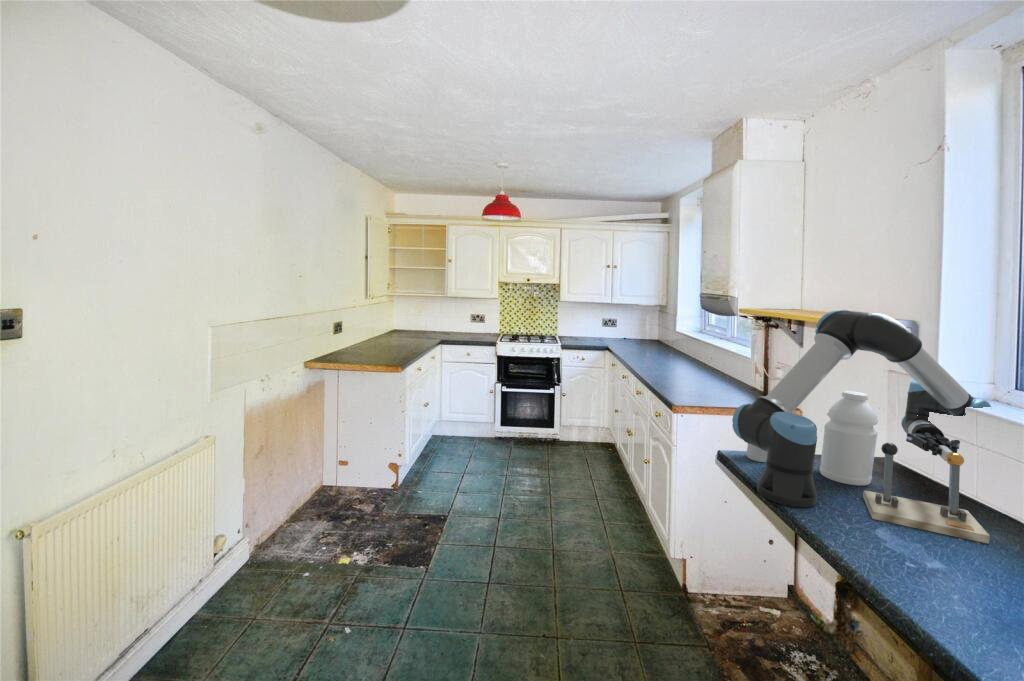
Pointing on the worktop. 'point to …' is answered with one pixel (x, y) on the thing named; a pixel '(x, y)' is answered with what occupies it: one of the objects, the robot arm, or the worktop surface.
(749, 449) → the milk bottle
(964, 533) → the switch board
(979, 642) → the worktop surface
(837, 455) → the bottle
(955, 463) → the orange knob lever
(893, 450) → the black knob lever
